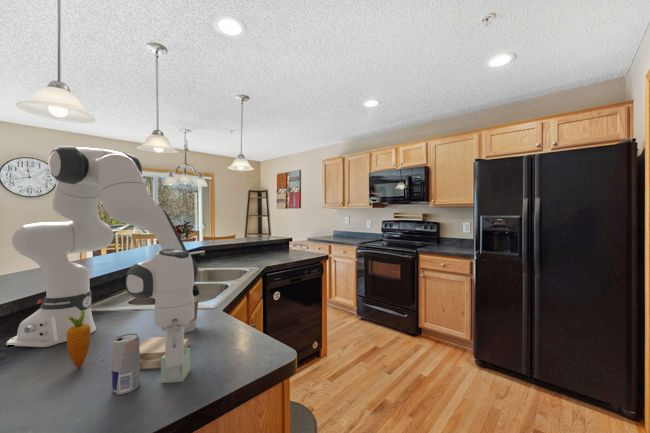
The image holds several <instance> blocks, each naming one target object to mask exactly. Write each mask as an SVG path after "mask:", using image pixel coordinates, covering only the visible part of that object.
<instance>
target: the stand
mask: <svg viewBox="0 0 650 433" xmlns="http://www.w3.org/2000/svg"><path fill="white" fill-rule="evenodd" d="M165 338H166V336H157V337H156V336H155V337H147V338H146V339H144V340H143V341H142V342H141V343H139V353H140V370H146V369H148V370H149V369H150V370H151V369H161V358H162V357H163V356H164V355H165ZM189 346H190V338H184V348H189Z"/></svg>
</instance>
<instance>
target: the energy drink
mask: <svg viewBox="0 0 650 433" xmlns="http://www.w3.org/2000/svg"><path fill="white" fill-rule="evenodd" d="M139 345H140V337H139V334H138V333H126V334H121V335H119V336H117V337H114V338H113V340H112V343H111V390H112V393H113V394H114V395H116V396H121V395H127V394H129V393H131V392H133V391H136V390H137V388H139V386H140V385H141V369H140V353H139ZM126 393H127V394H126Z"/></svg>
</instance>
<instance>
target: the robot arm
mask: <svg viewBox="0 0 650 433" xmlns="http://www.w3.org/2000/svg"><path fill="white" fill-rule="evenodd" d="M48 168H49V172H50V174H51V176H52V177H53V178H54V179H55V180H56V184H55V189H54V194H53V199H52V208H53V210H54V211H55V213H57V214H58V215H60V216H61V217H63V218H65V219H67V220H70V221H46V222H45V221H44V222H35V223H28V224H24V225H21V226H19V227H18V228H16V230H15V231H14V233H13V235H12V237H11V244H12V247H13V248H14V250H15V251H16V252H17V253H18V254H20V255H22V256H23V257H27V258H29V259H31V261H33V262H34V263H36V264H37V265H38V266H39V268H40V269H41V271H42V273H43V275H44V282H45V292H46V293H45V294H46V296H44V297H42V298H40V299H38V300H36V301H37V303H36V304H40V303H41V305H40V308H38V309H37V310H36V311H35V312H34V313H32V314H31V315H29V316H27V317H26V318H24V319H23V320H22V321H21V322H20V323H19V326H18V328H17V331H16V332H17V334H16V336H13V337H11V338H9V340H7V341H6V344H5V345H6V346H8V345H14V346H13V347H33V348H47V347H52V346H55V345H58V344H61V343H64V342H65V343H67V331H68V329H69V328H70V327H72V326H75V325H74V324H73V322H72V321H71V320H70V319H68V317H69V316H70V317H74V319H78V320H79V317H80V315H81V311H85V316H84V319H83V322H82V324H88V325H90V334H92V333H94V332H95V331H96V330H97V327H96V325H95V322H94V318H93V314H92V309H91V308H92V290H91V289H90V284H91V283H90V270H89V268H87V267H86V266H85V265H82V264H80V263H77V262H74V261H73V262H72V261H70V259H69V258H68V255H69V254H77V253H88V252H89V253H90V252H95V251H99V250H100V251H101V250H102V249H107V248H108V247H109V246H110V245H111V244H112V242H113V240H114V230H113V229H112V227H111V226H110V225H109V224H108V223H106V222H104V221H103V220H102V219H101V218H100V216H99V214H98V207H99V202H101V204H102V208H103V209H104V211H105V213H106V214H107V215H108V216H109V217H110V218H112V219H113V220H115V221H117V222H120V223H122V224H125V225H129V226H134V227H138V228H140V229H143V230H145V231H147V232H149V233H150V234H152V235H153V236H154V237H155V238H156V240H157V242H158V244H159V246H160V248H161V250H159V251H157V252H156V254H155V256H153V257H152V258H150V259H147V260H144V261H140V262H138V263H134V264H133V265H132V266H131V267H130V268H129V269H128V271H127V273H126V275H125V280H124V281H125V282H124V283H125V284H124V286H125V290H126V292H127V293H128V294H129V295H130V296H131V297H133V298H135V299H137V300H147V299H154V300H155V303H154V324H155V325H156V326H157V327H159V328H160V330H161V331H162V332H165V337H166V338H165V365H166V368H167V369H170V368H171V377H178V376H179V375H180V366H182V365H183V363H184V339H185V338H184V337H185V336H184V335H185V333H184V328H186V327H188V326H189V322H190V321H192V320H193V319H194V317H195V313H194V296H193V285H195V283H196V282H197V279H198V276H199V267H198V264H197V262H196V261H195V260H194V258H193V257H192V255H191V252H189V251H188V250H187V248H186V246H185V244H184V241H182V238H181V236H180V234H179V233H178V231H177V228H176V227H175V225H174V223H173V222H172V219H171V218H170V216H169V214H168V213H167V211H166V210H164V209H163V208H161V206H159V205H158V203H156V201H155V200H154V198H152V196H151V194H150V193H149V190H148V189H147V185H146V182H145V180H144V178H143V167H142V164H141V161H140V160H139V158H138V157H137V156H136V155H133V154H130V153H127V152H120V151H116V150H111V149H104V148H94V147H93V148H92V147H82V146H81V147H79V146H78V147H77V146H74V145H60V146H57V147H55V148H54V149H53V150H51V152H50V155H49V159H48Z"/></svg>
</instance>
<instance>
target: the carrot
mask: <svg viewBox="0 0 650 433" xmlns="http://www.w3.org/2000/svg"><path fill="white" fill-rule="evenodd" d="M84 316H85V311H81V315H80V317H79V320H78V319H74V317H70V316H69V317H68V319H70V320H71V321H72V322H73V324H74V325H75V326H72V327H70V328H69V329H68V331H67V341H66V346H67V351H68V352H67V353H68V355H69V359H70V361H71V362H72V364H73V365H74V366H75V368H77V369H80V368H81V367H82V366H83V364H84V363H85V360H86V358H87V356H88V353H89V352H88V351H89V349H90V348H89V347H90V343H91V341H90V340H91V333H90V325H88V324H82V322H83V319H84Z"/></svg>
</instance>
